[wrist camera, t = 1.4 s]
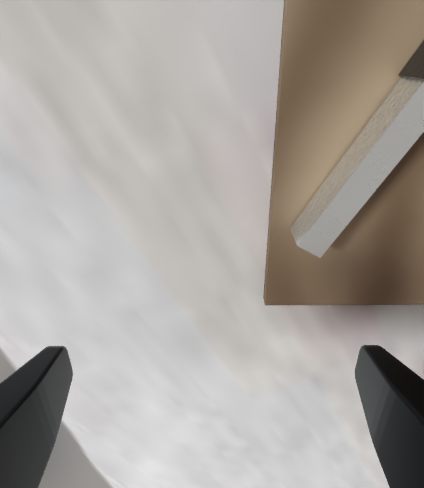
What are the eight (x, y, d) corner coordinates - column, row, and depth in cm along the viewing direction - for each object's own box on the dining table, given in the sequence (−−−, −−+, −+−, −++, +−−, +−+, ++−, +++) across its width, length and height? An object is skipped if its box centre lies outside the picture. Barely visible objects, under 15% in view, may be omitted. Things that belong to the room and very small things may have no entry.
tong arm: (543, -50, 14) (596, -66, 12) (313, 241, 20) (324, 261, 18) (511, -80, 13) (560, -102, 12) (286, 226, 19) (294, 246, 18)
